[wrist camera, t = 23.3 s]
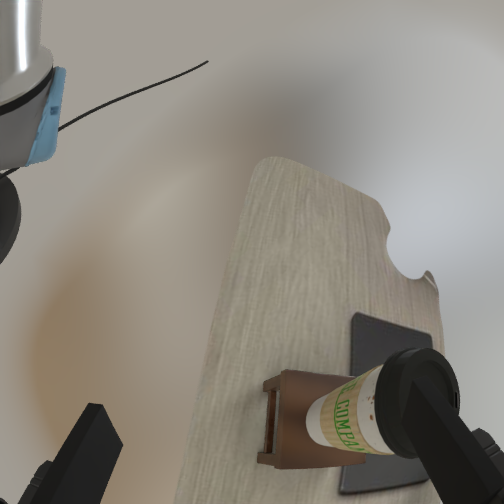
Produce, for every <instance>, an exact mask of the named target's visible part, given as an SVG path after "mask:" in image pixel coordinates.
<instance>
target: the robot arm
mask: <svg viewBox="0 0 504 504" xmlns="http://www.w3.org/2000/svg"><path fill="white" fill-rule="evenodd" d="M42 1H43V0H0V171H1V170H5V169H10V170H8V171H6V172H5V173H3V174H1V175H0V179H2V178H3V177H5V176H7V175H8V174H10V173H12V172H14V171H16V170H17V169H19V168H20V167H24V166H25V167H27V166H29V165H30V164H34V163H39V162H43V161H46V160H48V159H50V158H51V157H52V156H53V154H54V152H55V150H56V144H57V135H58V132H59V131H60V130H62V129H64V128H65V127H67V126H69V125H71V124H72V123H74V122H76V121H77V120H79V119H81V118H83V117H85V116H87V115H89V114H90V113H93V112H95V111H97V110H99V109H101V108H103V107H105V106H107V105H110V104H112V103H114V102H117V101H119V100H121V99H124V98H126V97H129V96H131V95H134V94H136V93H139V92H141V91H144V90H147V89H149V88H152V87H154V86H157V85H160V84H162V83H165V82H167V81H170V80H172V79H175V78H177V77H180V76H182V75H184V74H186V73H188V72H191V71H193V70H195V69H197V68H199V67H201V66H202V65H204V64H206V63H208V61H205V62H204V63H202V64H200V65H198V66H196V67H194V68H192V69H190V70H188V71H186V72H183V73H181V74H179V75H176V76H174V77H172V78H169V79H166V80H164V81H161V82H158V83H155V84H153V85H150V86H148V87H145V88H142V89H139V90H137V91H134V92H131V93H129V94H126V95H124V96H122V97H119V98H117V99H114V100H112V101H109V102H107V103H105V104H103V105H101V106H98V107H96V108H94V109H92V110H90V111H88V112H86V113H84V114H82V115H80V116H78V117H77V118H75V119H73V120H72V121H70V122H68V123H66V124H64V125H62V126H61V127H59V128H58V126H59V117H60V110H61V102H62V94H63V89H64V83H65V76H66V70H65V68H60V67H55V68H53V56H52V53H51V51H50V50H49V49H47V48H46V47H44V46H42V45H40V28H41V12H42ZM401 425H402V427H403V429H404V431H405V432H406V434H407V436H408V438H409V440H410V441H411V443H412V445H413V447H414V449H415V451H416V453H417V454H418V456H419V458H420V460H421V462H422V464H423V466H424V468H425V469H426V471H427V473H428V475H429V477H430V479H431V481H432V483H433V485H434V487H435V489H436V491H437V493H438V495H439V497H440V498H441V500H442V502H443V504H504V453H503V451H502V450H500V447H499V446H498V445H497V444H495V441H494V440H493V438H492V437H491V436H490V435H489V433H487V432H485V431H484V430H482V429H480V428H478V429H476V430H474V431H472V432H471V431H470V430H469V429H468V427H467V426H466V425H465V423H464V422H463V421H462V420H461V418H460V417H459V416H458V414H457V413H456V412H455V410H454V409H453V408H452V406H451V405H450V404H449V403H448V401H447V400H446V399H445V398H444V396H443V395H442V394H441V393H440V391H439V390H438V389H437V387H436V386H435V385H434V384H433V383H432V381H431V380H430V379H429V378H428V376H424V377H421V378H417V379H414V380H412V383H411V387H410V391H409V395H408V399H407V403H406V407H405V410H404V414H403V417H402V421H401ZM122 447H123V444H122V442H121V440H120V438H119V436H118V434H117V432H116V431H115V429H114V427H113V425H112V423H111V421H110V419H109V417H108V415H107V412H106V410H105V408H104V406H103V405H101V404H93V403H88V405H87V406H86V408H85V410H84V411H83V413H82V414H81V416H80V418H79V419H78V421H77V422H76V424H75V426H74V428H73V429H72V431H71V432H70V434H69V436H68V437H67V439H66V440H65V442H64V444H63V445H62V447H61V449H60V451H59V452H58V454H57V456H56V457H55V459H54V461H53V462H51V461H48V460H47V461H46V462H44V463H43V464H42V465H41V466H40V467H39V468H38V469H37V471H36V473H35V474H34V477H33V478H32V479H31V481H30V484H29V485H28V486H27V488H26V490H25V492H24V494H23V495H22V497H21V499H20V501H19V502H18V504H100V502H101V499H102V497H103V494H104V492H105V489H106V486H107V484H108V481H109V479H110V476H111V474H112V471H113V469H114V466H115V464H116V461H117V459H118V457H119V454H120V452H121V449H122ZM0 504H8V503H7V502H6V501H5V500H3V499H2V498H0Z"/></svg>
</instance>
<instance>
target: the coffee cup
mask: <svg viewBox="0 0 504 504" xmlns="http://www.w3.org/2000/svg"><path fill="white" fill-rule="evenodd" d="M424 376H428V378H429V379H430V380H431V381H432V383H433V384H434V385H435V386H436V387H437V389H438V390H439V391H440V393H441V394H442V395H443V396H444V398H445V399H446V400H447V401H448V403H449V404H450V405H451V406H452V408H453V409H454V410H455V412H456V413H457V414H458V415H459V409H460V394H459V387H458V382H457V379H456V376H455V373H454V371H453V369H452V367H451V365H450V364H449V362H448V361H447V360H446V359H445V357H444V356H443V355H441V354H440V353H439V352H437V351H435V350H433V349H429V348H424V349H422V348H417V347H410V348H404V349H401V350H399V351H396V352H395V353H393V354H392V355H391V356H390V357H389V358H388V359H387V361H386V362H385V363H384V364H383V365H380V366H377V367H375V368H373V369H372V370H370V371H368V372H366V373H365V374H363V375H361V376H359V377H357V378H356V379H354V380H352V381H350V382H348V383H346V384H344V385H343V386H341V387H339V388H337V389H335V390H334V391H332V392H331V393H329V394H327V395H325V396H323V397H321V398H319V399H317V400H316V401H315V402H314V403H313V404H312V405H311V407H310V408H309V410H308V413H307V416H306V427H307V431H308V433H309V435H310V437H311V438H312V439H313V440H314V441H315V442H316V443H318V444H320V445H324V446H330V447H336V448H338V449H342V450H348V451H355V452H363V453H372V454H383V455H391V454H396V455H398V456H400V457H403V458H407V459H414V458H418V457H419V456H418V454H417V453H416V451H415V449H414V447H413V445H412V443H411V441H410V440H409V438H408V436H407V434H406V432H405V431H404V429H403V427H402V425H401V421H402V417H403V414H404V410H405V407H406V403H407V399H408V395H409V391H410V387H411V383H412V380H414V379H417V378H421V377H424Z"/></svg>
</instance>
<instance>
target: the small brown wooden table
mask: <svg viewBox="0 0 504 504" xmlns="http://www.w3.org/2000/svg"><path fill="white" fill-rule="evenodd" d="M356 378H357V377H352V376H340V375H330V374H320V373H312V372H304V371H296V370H288V369H286V370H284V371H282V372H281V374H280V375H278V376H276V377H273V378H271V379H269V380H266V381H264V386H263V392H268V406H267V418H266V431H265V443H264V452H265V453H258V458H257V463H261V464H266V465H271V466H275V467H274V468H276V469H308V468H324V467H336V466H346V465H354V464H362V463H365V459H366V453H363V452H355V451H348V450H342V449H338V448H336V447H330V446H324V445H320V444H318V443H316V442H315V441H314V440H313V439H312V438H311V437H310V435H309V433H308V431H307V427H306V416H307V413H308V410H309V408H310V407H311V405H312V404H313V403H314V402H315V401H316V400H317V399H319V398H321V397H323V396H325V395H327V394H329V393H331V392H332V391H334V390H335V389H337V388H339V387H341V386H343V385H344V384H346V383H348V382H350V381H352V380H354V379H356ZM279 390H280V400H279V415H278V429H277V442H276V454H272V447H273V434H274V421H275V407H276V391H279Z"/></svg>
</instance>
